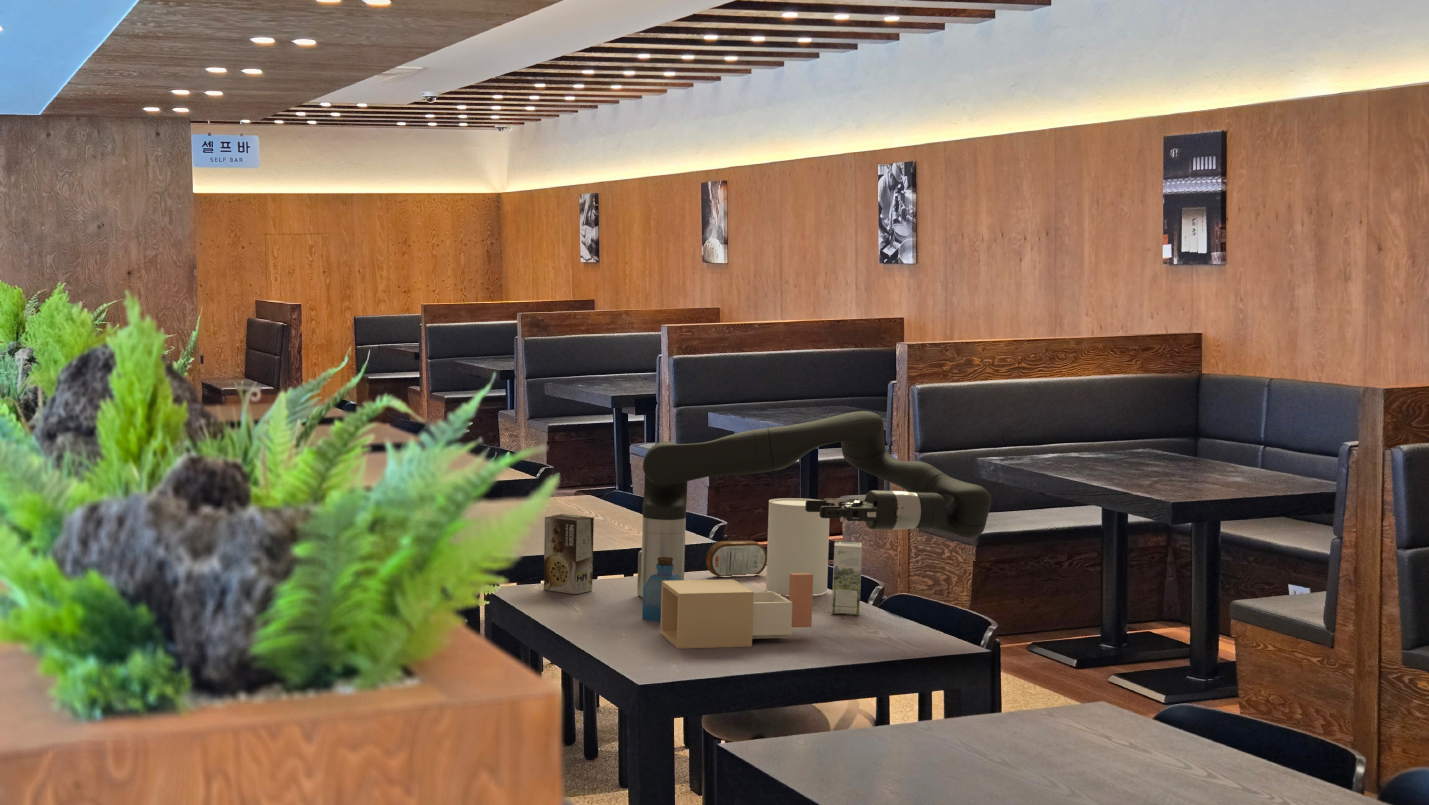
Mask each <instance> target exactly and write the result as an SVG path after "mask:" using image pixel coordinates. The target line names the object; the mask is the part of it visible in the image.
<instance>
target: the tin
mask: <svg viewBox="0 0 1429 805" xmlns="http://www.w3.org/2000/svg"><path fill="white" fill-rule="evenodd" d="M705 565H706V568H707V569H708V571H709V572H710V573H711V574H712V575H714V576H716V577H718V576H732V575H746V574H758V575H760V574H761V573H762V572H763V571H764V570H765V569H766V567H767V550H766V549H765V547H764V546H763V545H762V544H760V543H758V542H757V541H755V540H721V541H717V542H716V543H713V544H712V545H711V546H710V547H709V549H708V550H707V553H706V556H705Z"/></svg>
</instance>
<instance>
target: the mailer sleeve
mask: <svg viewBox="0 0 1429 805" xmlns="http://www.w3.org/2000/svg"><path fill="white" fill-rule="evenodd" d="M754 592H755V591H753V590H751V589H750V588H748V587H746V586H744V585H743V584H741V583H740V582H738V581H737V580H735V579H731V578H729V579H728V578H727V579H693V580H692V579H691V580H689V579H687V580H685V579H684V580H676V581H662V595H661V622H660V632H659V633H660V635H662V636H663V637H664V638H665V640H668V642H669V643H670V644H671V645H673V646H674V647H675V648H676V649H677V650H679V649H680V650H681V649H682V650H683V649H685V650H686V649H710V648H714V649H715V648H740V647H753V639H752V628H753V597H754Z"/></svg>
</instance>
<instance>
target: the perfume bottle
mask: <svg viewBox="0 0 1429 805" xmlns="http://www.w3.org/2000/svg"><path fill="white" fill-rule="evenodd" d="M657 560H658V564H656V569H657V570H658V573H657V574H654V575H651V576H650V578H649V580H648V581H647V583H646V584H645V586H644V588H643V598H642V611H641V612H642V617H641V618H642V620H647V621H653V622H654V621H655V622H660V623H661V595H662V581H676V580H681V579H680V577H679V575H677V574H672V570H673V567H674V564H672V561H673V558H670V557H659V558H657Z"/></svg>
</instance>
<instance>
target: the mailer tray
mask: <svg viewBox="0 0 1429 805" xmlns="http://www.w3.org/2000/svg"><path fill="white" fill-rule="evenodd" d="M753 592H754V597H753V628H752V640H755V639H756V640H757V639H758V640H759V639H785V638H786V639H787V638H789V639H790V638H792V628H793V629H794V628H795V629H796V628H812V622H813V619H812V618H813V598H814V597H813V574H811V573H790V580H789V597H788V598H787V597H785V596H781V595H779V594H777V593H776V592H767V591H753Z"/></svg>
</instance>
